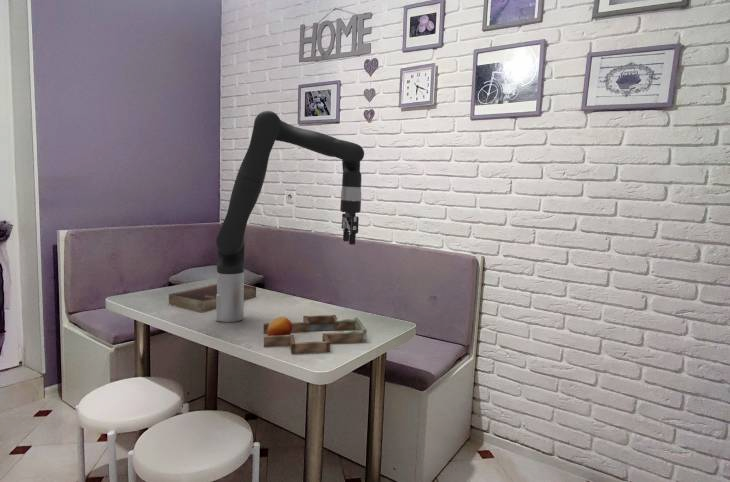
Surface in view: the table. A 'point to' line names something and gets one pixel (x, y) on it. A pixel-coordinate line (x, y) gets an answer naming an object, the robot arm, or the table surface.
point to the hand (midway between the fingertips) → (348, 242)
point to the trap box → (327, 338)
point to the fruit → (280, 327)
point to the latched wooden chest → (203, 297)
